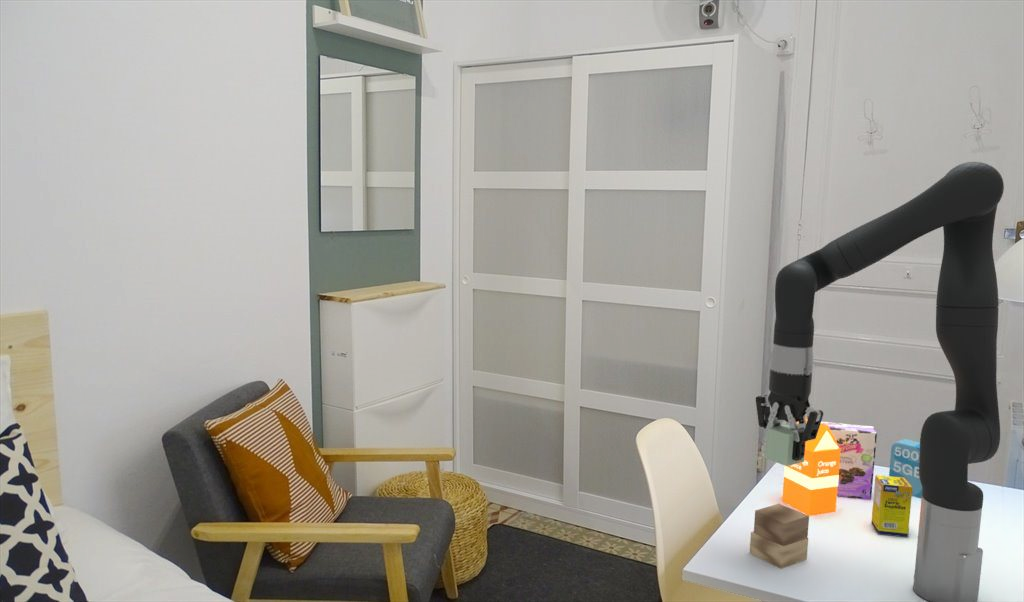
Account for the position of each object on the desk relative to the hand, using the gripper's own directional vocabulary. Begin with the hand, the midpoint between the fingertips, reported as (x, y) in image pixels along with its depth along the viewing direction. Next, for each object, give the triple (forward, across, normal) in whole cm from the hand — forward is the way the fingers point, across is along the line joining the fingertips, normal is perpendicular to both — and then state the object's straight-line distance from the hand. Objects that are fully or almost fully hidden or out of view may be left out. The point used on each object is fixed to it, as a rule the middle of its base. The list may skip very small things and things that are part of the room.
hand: (784, 455), depth 150 cm
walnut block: (+16, 0, 0) cm, 16 cm away
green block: (+1, 0, 0) cm, 1 cm away
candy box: (+21, -15, +41) cm, 48 cm away
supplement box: (+20, +4, +31) cm, 37 cm away
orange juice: (+21, -13, +27) cm, 36 cm away
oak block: (+20, 0, 0) cm, 20 cm away
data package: (+21, -5, +57) cm, 61 cm away
